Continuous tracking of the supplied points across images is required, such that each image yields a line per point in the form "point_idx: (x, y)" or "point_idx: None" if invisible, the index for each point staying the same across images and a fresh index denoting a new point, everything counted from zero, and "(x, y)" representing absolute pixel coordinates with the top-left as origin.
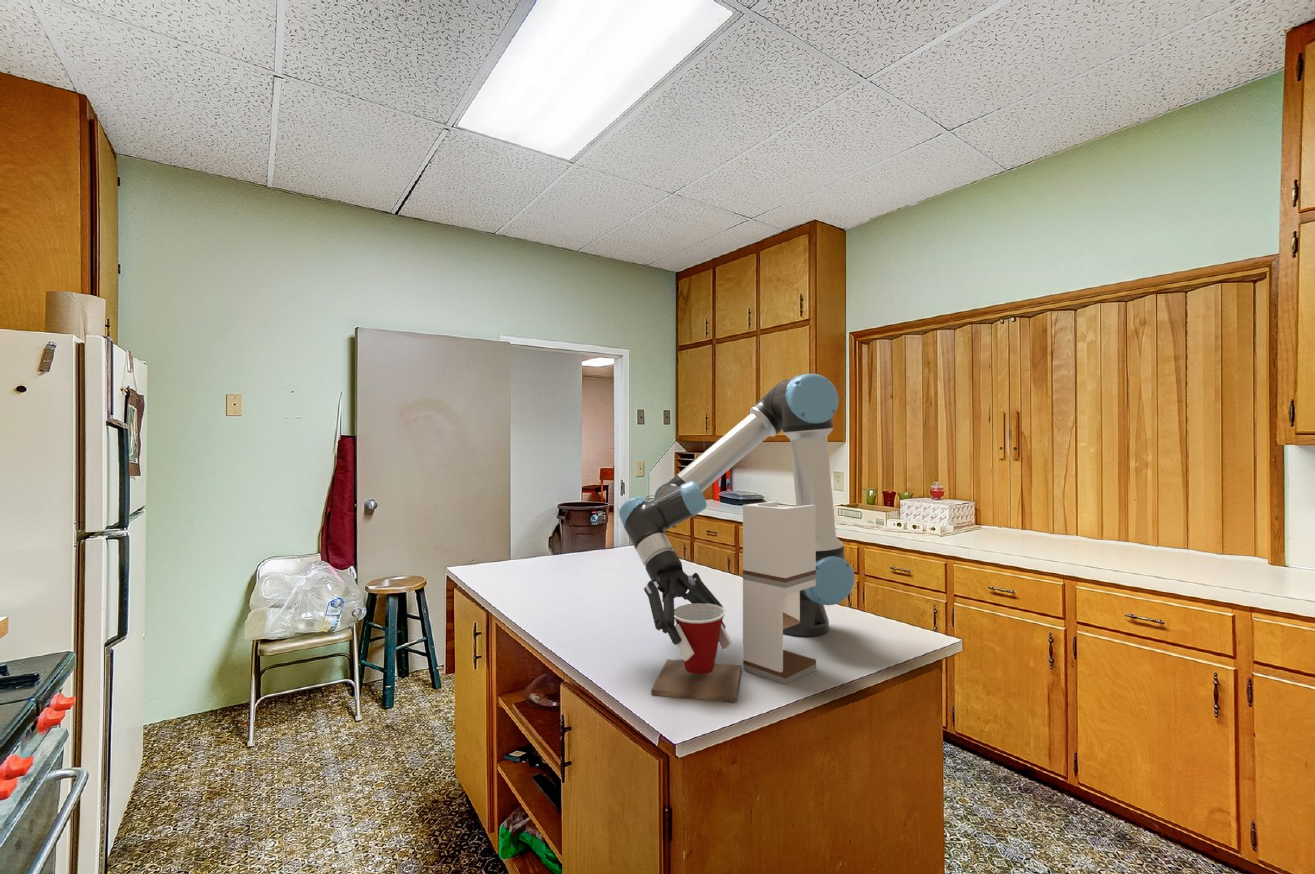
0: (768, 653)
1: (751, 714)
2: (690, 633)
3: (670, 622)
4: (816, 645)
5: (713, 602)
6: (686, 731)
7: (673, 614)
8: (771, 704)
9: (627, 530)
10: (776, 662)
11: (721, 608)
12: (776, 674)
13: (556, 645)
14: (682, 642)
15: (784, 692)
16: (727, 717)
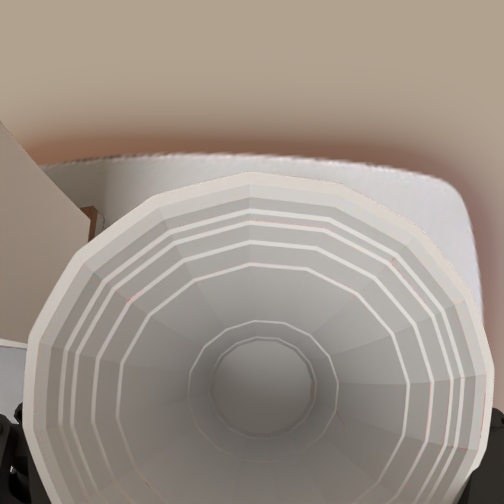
0: (62, 240)
1: (290, 163)
2: (396, 343)
3: (502, 416)
4: None
5: (3, 483)
6: (439, 196)
7: (478, 477)
8: (216, 168)
9: None
10: (77, 220)
11: (51, 322)
12: (93, 235)
13: None
14: None
15: (142, 191)
16: (344, 183)
